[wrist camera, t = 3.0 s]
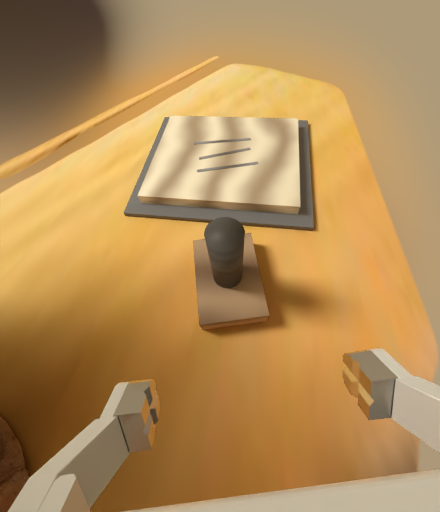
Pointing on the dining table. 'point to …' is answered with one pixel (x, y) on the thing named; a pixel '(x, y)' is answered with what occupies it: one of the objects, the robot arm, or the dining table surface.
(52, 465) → the robot arm
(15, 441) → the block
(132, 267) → the dining table surface
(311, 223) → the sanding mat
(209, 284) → the sanding block
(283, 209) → the board
